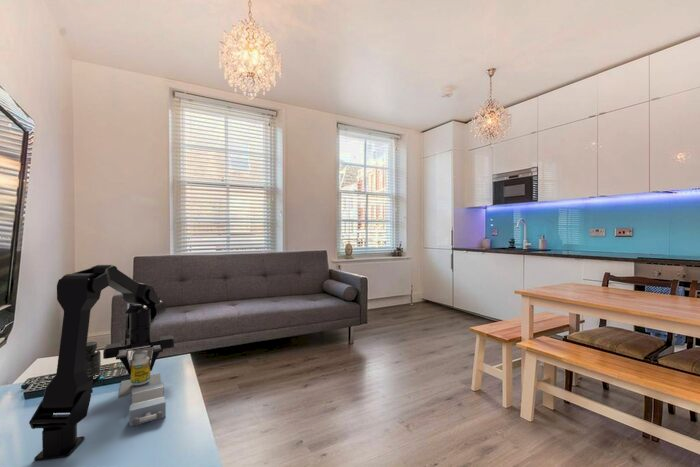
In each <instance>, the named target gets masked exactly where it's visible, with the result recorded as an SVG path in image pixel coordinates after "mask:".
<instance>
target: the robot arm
mask: <svg viewBox="0 0 700 467" xmlns="http://www.w3.org/2000/svg"><path fill="white" fill-rule="evenodd" d="M107 287H110V288H112V289H113V290H115V291H117V292H119V293H120V294H121V295H122V297H121V298H122V299H123V300H124V301H125V302H126V303H127V304H129V305H130V306H129V308H128V309H126V310H125V314H128V315H129V328H127V329H125V332H124V338H125V340H129V344H125V345H124V344H123V345H121V342H116V343H109V344H106V345H105V346H104V349H103V351H102V353H103V354H102V355H103V356H102V357H103V358H102V359H103V360H104V359H105V360H107V359H113V358H115V360H120V361H121V363H122V364H123V366H124V368H125V370H126V371H127V372H126V373H127V374H128V376H131V368H130V363H131V360H130V356H129V354H130V353H129V352H130V351H136V350H137V351H138V350H144V349H148V348H151V349H152V351H151V358H150V372H152V371H153V368H154V365H155V363H156V361H157V358H158V356H159V354H160V353H163V352H164V350H166V349H172V348H175V340H174V336H173V335H172V334H169V335H163V336H159V339H157V340H152V326H151V324H152V320H154V319H156V318H158V317H161V316H163V315H164V314H165V312H166V310H167V306H166V304H165V302H164V301H162V300H161V297H159V296H158V295H157V292H156V290H155V289H154V287H153V286H152V285H151V284H147V283H141V282H138V281H135V280H134V279H133V278H131V277H130V276H128V275H127V274H125V273H124V272H122V271H121V270H119V269H118V267H117V266H116V265H114V264H97V265H95V266H91V267H90V268H87V269H83V270H80V271H76V272H73V273H66V274H64V275H63V276H62V277H60V278H59V279H58V281H57V283H56V300H57V302H58V304H59V305H60V307H61V308H62V310H63V317H62V326H61V334H60V340H59V341H60V342H59V349H58V358H57V365H56V366H57V367H56V374H55V375H54V377H53V378H52V379H51V380H50V382H49V383H48V384H47V385H46V387H45V389H44V395H43V397H42V400H41V401H40V403H39V405H38V406H37V408H36V410H35V412H34V413H33V415H32V417H31V418H30V420H29V422H28V424H29V427H30V428H31V429H32V430H36V429H42V432H41V435H42V436H41V437H42V438H41V440H42V441H41V442H42V445H41V446H42V448H41V449H42V450H41V451H40V452H38V453H37V455H36V456H34V458H33V460H34V461H43V460H49V459H50V460H51V459H57V458H58V459H59V458H66V457H68V456H70V455H71V454H72V452H73V451H74V450H75V449H77V447H78V446H79V445H80V444H81V443H82V442H83V441H84V440H85V436H78V423H80V422H81V421H82V420H84V419H86V417H87V415H88V412H89V407H90V403H91V399H92V394H93V393H94V392H93V391H94V390H93V385H94V381H93V380H94V379H93V376H92V375H90V376H87V374H86V373H85V371H84V364H85V355H86V346H87V342H88V336H89V326H90V318H91V310H92V309H93V307H94V306H95V304H97V302H98V301H99V300H100V298H101V293H102V290H104V289H106V288H107Z"/></svg>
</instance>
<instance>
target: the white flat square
mask: <svg viewBox="0 0 700 467" xmlns="http://www.w3.org/2000/svg"><path fill="white" fill-rule="evenodd" d="M161 380H162V379H161V373H154V374H150V380H149V381H148V382H147V383H145V384H142V385H132V384H131V378H130V379H126V380H121V382H120V386H119V392H118V398H121V397H126V396H131V393H132V389H133V388H138V387H143V386H147V385H152V384H156V383H161V382H162V381H161Z"/></svg>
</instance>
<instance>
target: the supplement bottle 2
mask: <svg viewBox="0 0 700 467" xmlns="http://www.w3.org/2000/svg"><path fill="white" fill-rule="evenodd" d="M148 353H149V352H148V350H146V349H145V350H144V349H140V350H137V351H135V352H133V353H132V358H133V359H132V360H130V368H131V375H130V379H131V384H132V385H142V384H145V383H147V382H148V381H149V380H150V375H151V371H150V363H151V358H150V357H149V356H148Z"/></svg>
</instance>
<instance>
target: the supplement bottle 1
mask: <svg viewBox="0 0 700 467" xmlns="http://www.w3.org/2000/svg"><path fill="white" fill-rule="evenodd" d="M97 343H98V342H96V341H87V346H86V355H85V364H84V371H85V373H86V374H87V376H90V375H92V376H95V375H98V374H99V373H100V372H101V373H102V370H101V369H102V368H101V367H102V366H101V365H102V364H101V362H102V360H101V359H102V355H101V354H102V353H101V351H100V350H99V349H98V344H97Z"/></svg>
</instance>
